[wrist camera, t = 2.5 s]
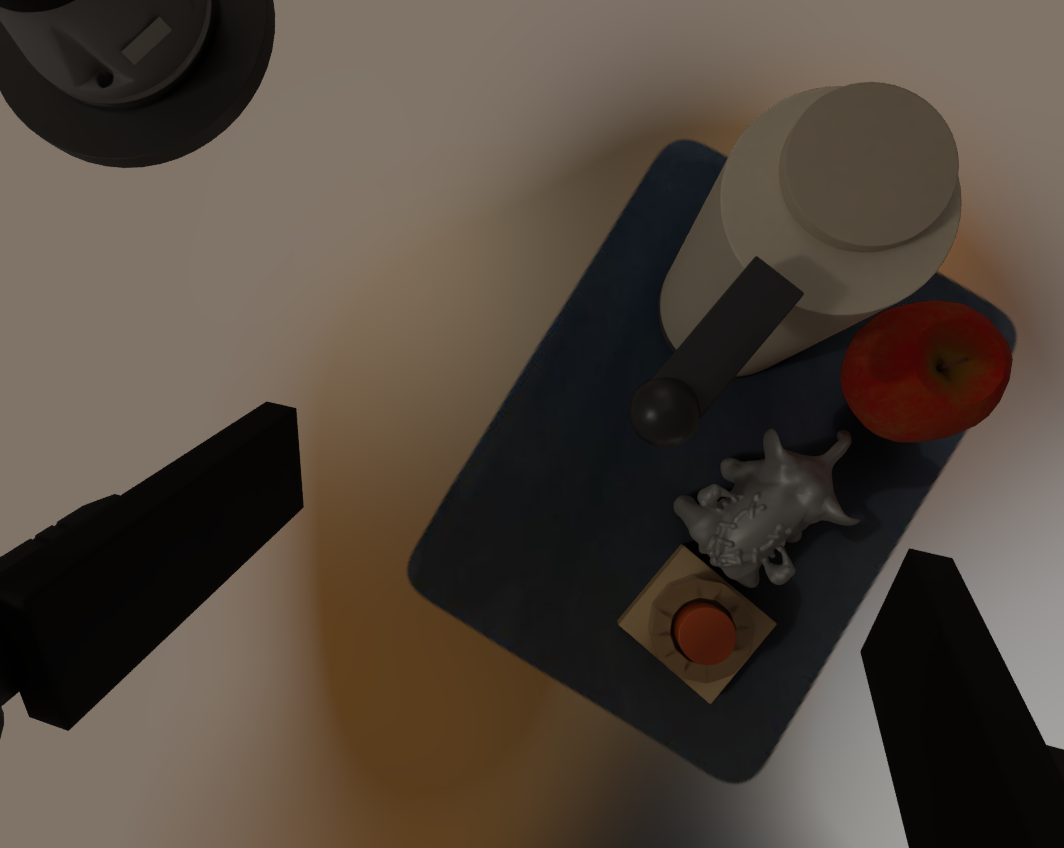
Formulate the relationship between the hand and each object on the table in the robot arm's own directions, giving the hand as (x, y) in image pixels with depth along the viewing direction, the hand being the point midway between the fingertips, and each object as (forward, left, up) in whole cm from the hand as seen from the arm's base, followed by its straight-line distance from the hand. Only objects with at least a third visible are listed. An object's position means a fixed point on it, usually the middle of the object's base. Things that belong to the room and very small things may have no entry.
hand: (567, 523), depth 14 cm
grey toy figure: (+10, +8, -32) cm, 35 cm away
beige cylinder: (+1, +17, -32) cm, 36 cm away
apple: (+12, +19, -32) cm, 39 cm away
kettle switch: (+1, +8, -13) cm, 15 cm away
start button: (+13, -1, -30) cm, 32 cm away
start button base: (+13, -1, -32) cm, 35 cm away
